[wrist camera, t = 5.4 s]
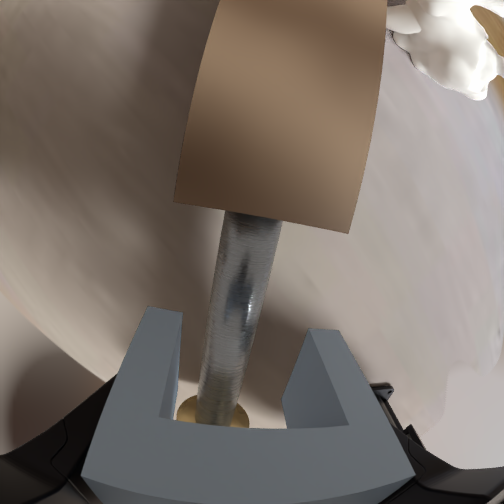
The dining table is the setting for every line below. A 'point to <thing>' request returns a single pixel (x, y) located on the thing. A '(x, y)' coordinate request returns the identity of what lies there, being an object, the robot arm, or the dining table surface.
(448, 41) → the rabbit figurine
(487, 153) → the dining table surface
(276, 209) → the block
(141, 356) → the spacer
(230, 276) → the shaft
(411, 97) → the dining table surface
